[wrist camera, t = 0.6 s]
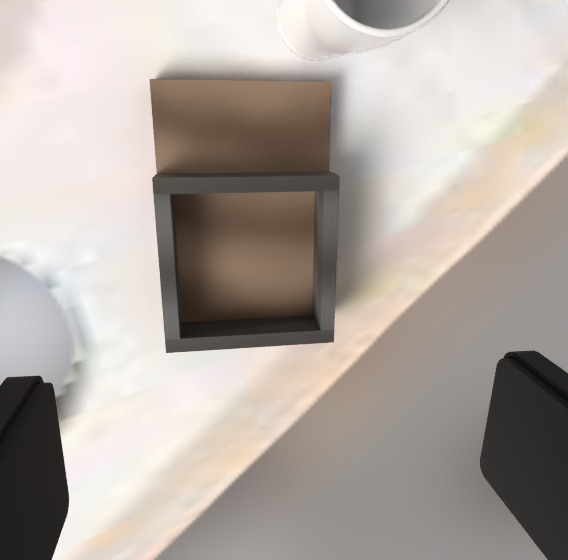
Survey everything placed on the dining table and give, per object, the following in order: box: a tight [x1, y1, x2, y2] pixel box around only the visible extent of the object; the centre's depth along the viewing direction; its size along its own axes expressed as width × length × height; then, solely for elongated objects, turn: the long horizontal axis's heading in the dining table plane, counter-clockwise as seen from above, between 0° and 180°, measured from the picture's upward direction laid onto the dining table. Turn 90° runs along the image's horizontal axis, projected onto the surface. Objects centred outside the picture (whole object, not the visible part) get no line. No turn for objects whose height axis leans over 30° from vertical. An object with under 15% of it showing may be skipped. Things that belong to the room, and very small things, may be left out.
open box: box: [150, 79, 339, 353], centre depth 35 cm, size 18×12×4 cm, turn 0°
